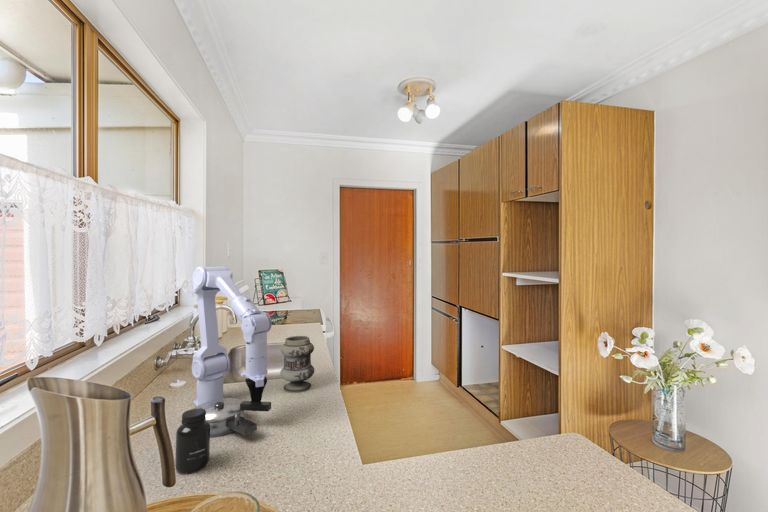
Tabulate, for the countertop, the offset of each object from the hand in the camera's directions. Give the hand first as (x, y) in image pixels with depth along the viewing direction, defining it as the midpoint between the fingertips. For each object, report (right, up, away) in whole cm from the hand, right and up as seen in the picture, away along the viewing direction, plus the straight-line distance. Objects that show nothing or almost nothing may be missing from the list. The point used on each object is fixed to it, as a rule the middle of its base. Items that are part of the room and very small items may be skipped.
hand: (256, 404), depth 99 cm
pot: (-6, -5, -4) cm, 9 cm away
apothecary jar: (+5, -6, +27) cm, 28 cm away
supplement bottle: (-7, -6, -20) cm, 22 cm away
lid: (-6, -1, -2) cm, 6 cm away
